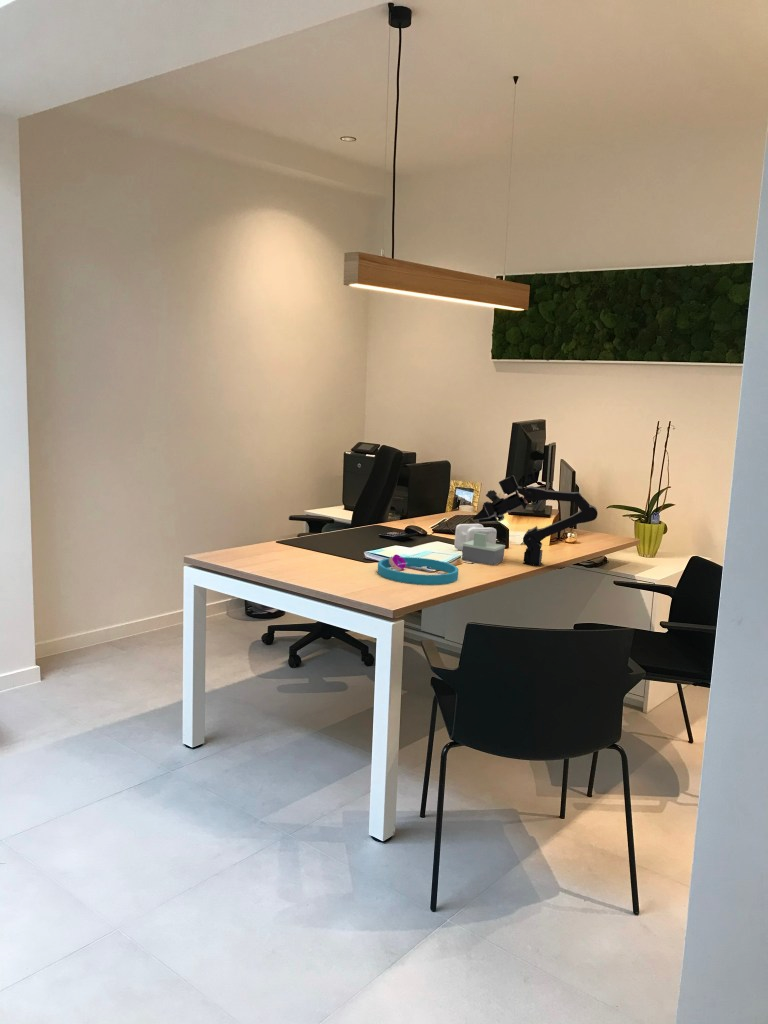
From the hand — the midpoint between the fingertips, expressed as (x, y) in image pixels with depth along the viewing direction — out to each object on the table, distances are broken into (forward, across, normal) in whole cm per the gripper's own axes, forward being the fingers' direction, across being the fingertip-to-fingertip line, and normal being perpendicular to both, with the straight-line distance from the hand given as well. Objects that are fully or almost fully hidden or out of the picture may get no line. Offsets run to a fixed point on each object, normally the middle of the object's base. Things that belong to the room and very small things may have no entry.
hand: (476, 520), depth 346 cm
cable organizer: (+9, -14, +10) cm, 20 cm away
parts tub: (+4, +1, +17) cm, 18 cm away
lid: (+1, +2, +13) cm, 13 cm away
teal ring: (+21, +43, +19) cm, 51 cm away
